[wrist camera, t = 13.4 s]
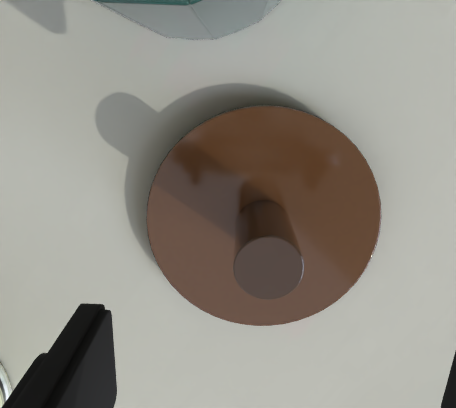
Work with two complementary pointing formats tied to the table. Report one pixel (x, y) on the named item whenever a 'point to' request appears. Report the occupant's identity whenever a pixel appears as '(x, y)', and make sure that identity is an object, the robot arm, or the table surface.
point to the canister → (192, 15)
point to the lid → (263, 215)
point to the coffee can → (4, 386)
